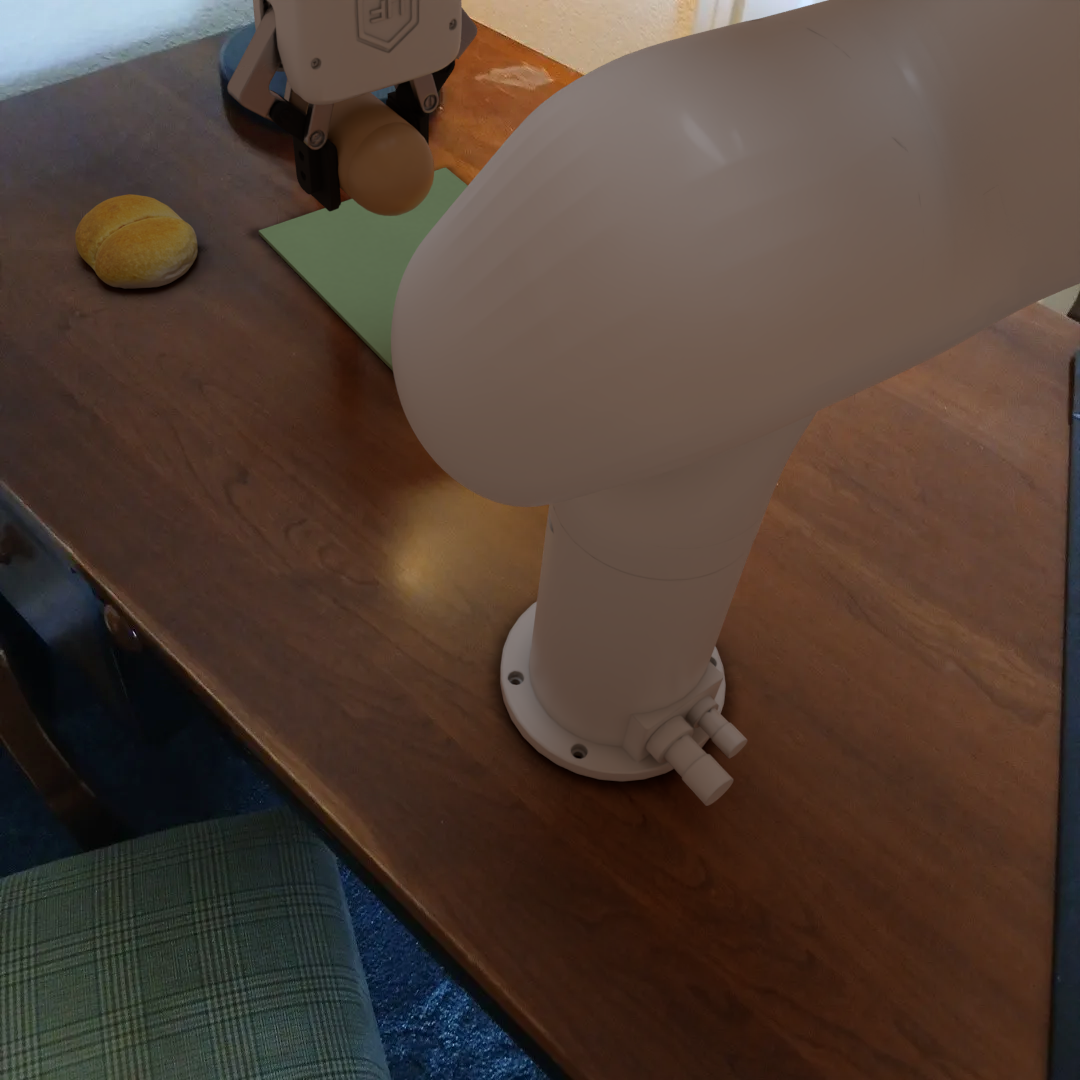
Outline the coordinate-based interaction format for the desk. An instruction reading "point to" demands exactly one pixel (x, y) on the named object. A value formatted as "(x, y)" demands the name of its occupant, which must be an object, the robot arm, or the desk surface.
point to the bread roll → (136, 242)
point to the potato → (380, 156)
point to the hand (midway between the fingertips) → (365, 180)
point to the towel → (361, 256)
